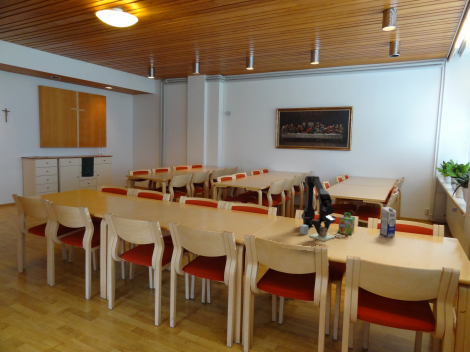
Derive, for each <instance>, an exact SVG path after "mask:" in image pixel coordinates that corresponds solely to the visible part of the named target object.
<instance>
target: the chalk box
mask: <svg viewBox="0 0 470 352" xmlns="http://www.w3.org/2000/svg"><path fill="white" fill-rule="evenodd" d="M355 222H356V218H355V216H352V214H351V212H344V213H343V215H341V216H340V217H339V219H338V230H337V234H341V235H349V236H352V235H353V233H354V232H355Z"/></svg>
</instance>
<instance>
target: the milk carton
mask: <svg viewBox="0 0 470 352" xmlns="http://www.w3.org/2000/svg"><path fill="white" fill-rule="evenodd" d="M380 213H381V215H380V229H379V235H381V236H382V237H386V238H391V237H392V238H393V237H395V235H396V234H395V233H396V222H397V210H395V209H394V208H392V207H391V206H384V207H383V206H382V207H381V212H380Z"/></svg>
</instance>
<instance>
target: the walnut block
mask: <svg viewBox="0 0 470 352" xmlns="http://www.w3.org/2000/svg"><path fill="white" fill-rule="evenodd" d="M327 234H328V231H327V227H325V226H321V227H320V233H319V234H318V236H321V237H325V236H327Z"/></svg>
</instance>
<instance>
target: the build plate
mask: <svg viewBox="0 0 470 352" xmlns="http://www.w3.org/2000/svg"><path fill="white" fill-rule="evenodd" d="M329 234H330V233H327V236H325V237H321V236H318V233H317V232H316V233H314V234H309V237H311V238H312V239H316V240H319V241H323V242H325V240H326V241H329V240H332V238H333V239H335V238H336V237H335V236H332V235H329Z"/></svg>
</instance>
